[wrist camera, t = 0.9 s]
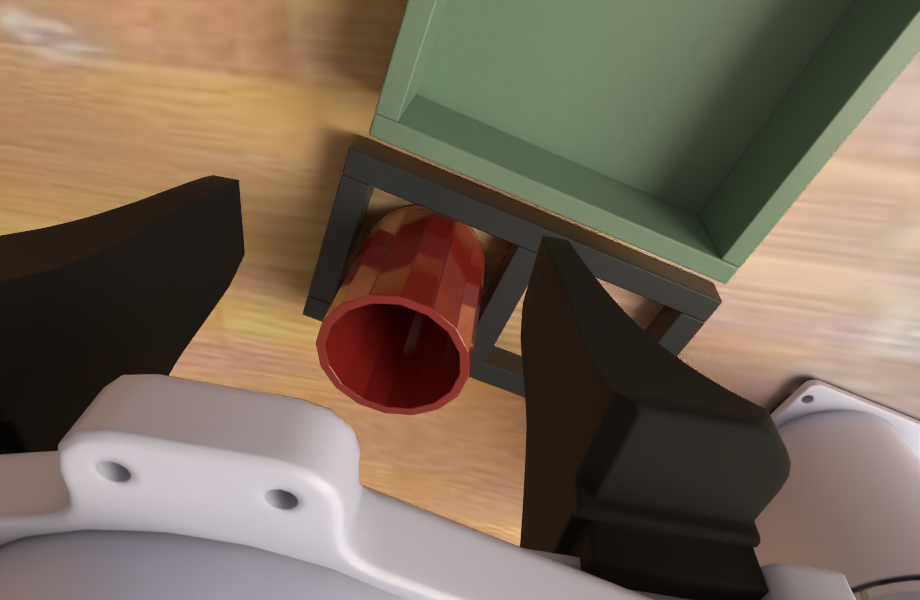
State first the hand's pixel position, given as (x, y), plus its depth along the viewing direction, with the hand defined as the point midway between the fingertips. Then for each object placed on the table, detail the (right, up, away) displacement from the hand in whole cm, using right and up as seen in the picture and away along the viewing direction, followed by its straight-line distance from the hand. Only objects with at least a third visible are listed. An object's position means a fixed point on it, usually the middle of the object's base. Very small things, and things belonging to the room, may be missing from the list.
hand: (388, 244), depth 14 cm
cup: (0, +1, +12) cm, 12 cm away
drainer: (+4, -1, +13) cm, 13 cm away
